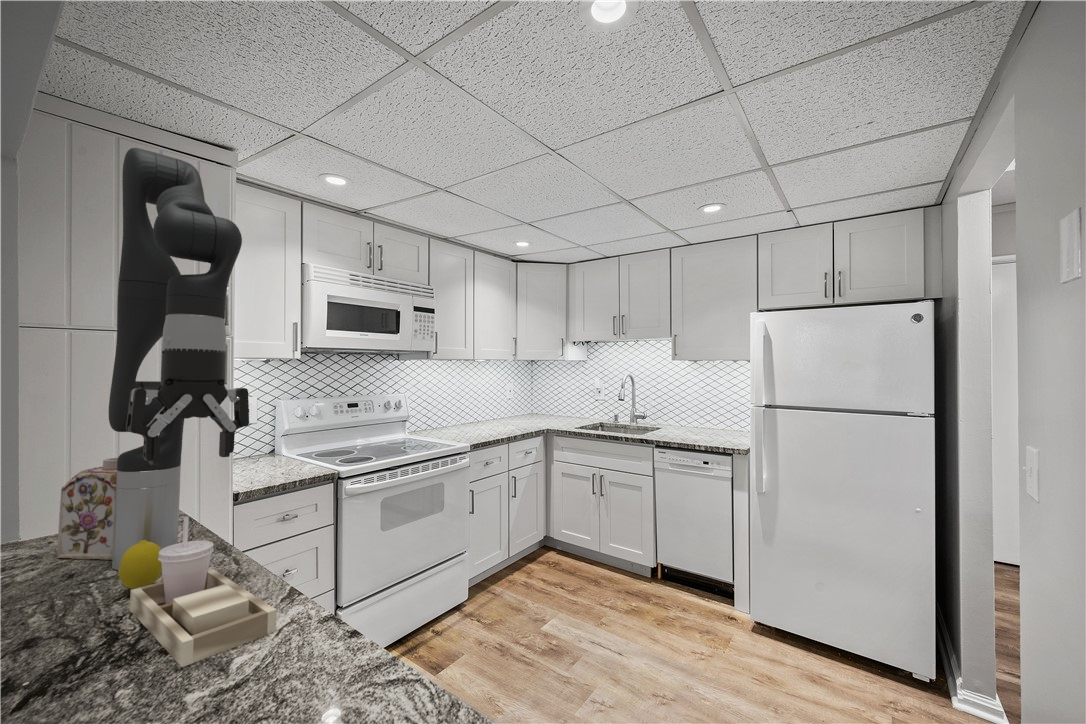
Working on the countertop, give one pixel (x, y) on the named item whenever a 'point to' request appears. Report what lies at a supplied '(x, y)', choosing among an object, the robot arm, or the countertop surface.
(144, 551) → the lemon
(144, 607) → the offcut rack
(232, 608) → the offcut top
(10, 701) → the countertop surface
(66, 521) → the decorative jar
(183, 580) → the smoothie
